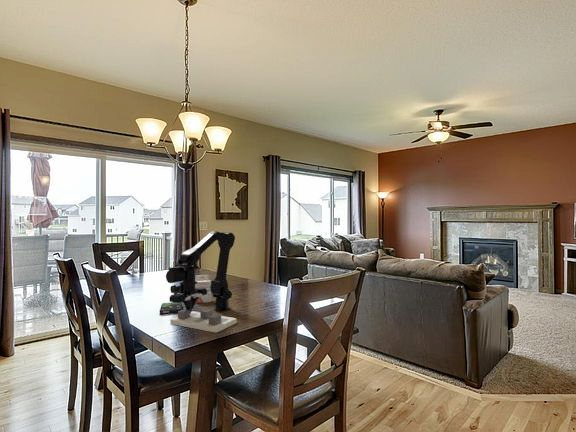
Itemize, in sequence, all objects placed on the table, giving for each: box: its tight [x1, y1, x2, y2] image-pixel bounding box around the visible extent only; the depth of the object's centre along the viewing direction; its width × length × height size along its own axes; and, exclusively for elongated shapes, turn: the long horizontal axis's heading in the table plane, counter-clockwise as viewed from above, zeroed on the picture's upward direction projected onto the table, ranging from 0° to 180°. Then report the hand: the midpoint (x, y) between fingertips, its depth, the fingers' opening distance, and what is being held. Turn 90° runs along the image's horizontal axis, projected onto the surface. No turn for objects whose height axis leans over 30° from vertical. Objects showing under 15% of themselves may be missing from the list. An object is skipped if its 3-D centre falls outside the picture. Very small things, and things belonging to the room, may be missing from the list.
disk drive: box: [159, 302, 183, 316], centre depth 175 cm, size 10×3×15 cm
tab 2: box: [209, 314, 222, 325], centre depth 147 cm, size 4×4×3 cm
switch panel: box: [169, 310, 238, 333], centre depth 154 cm, size 14×26×2 cm, turn 62°
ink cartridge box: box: [195, 274, 212, 304], centre depth 191 cm, size 9×5×15 cm, turn 110°
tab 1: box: [177, 308, 190, 319], centre depth 155 cm, size 4×4×3 cm
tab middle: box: [200, 308, 213, 319], centre depth 155 cm, size 4×4×3 cm
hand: (189, 313), depth 158 cm, fingers closed
